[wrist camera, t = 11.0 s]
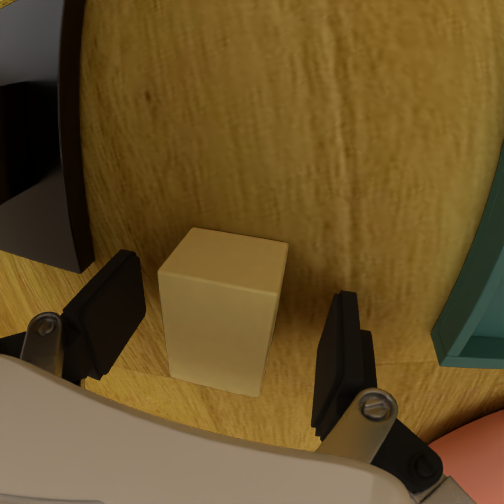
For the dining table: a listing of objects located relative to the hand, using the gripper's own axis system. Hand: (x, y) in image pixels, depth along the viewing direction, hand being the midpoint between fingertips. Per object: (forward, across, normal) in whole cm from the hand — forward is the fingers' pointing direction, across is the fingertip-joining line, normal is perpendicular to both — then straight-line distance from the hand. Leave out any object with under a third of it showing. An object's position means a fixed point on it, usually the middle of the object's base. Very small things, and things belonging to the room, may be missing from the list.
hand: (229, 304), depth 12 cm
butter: (+1, 0, 0) cm, 1 cm away
